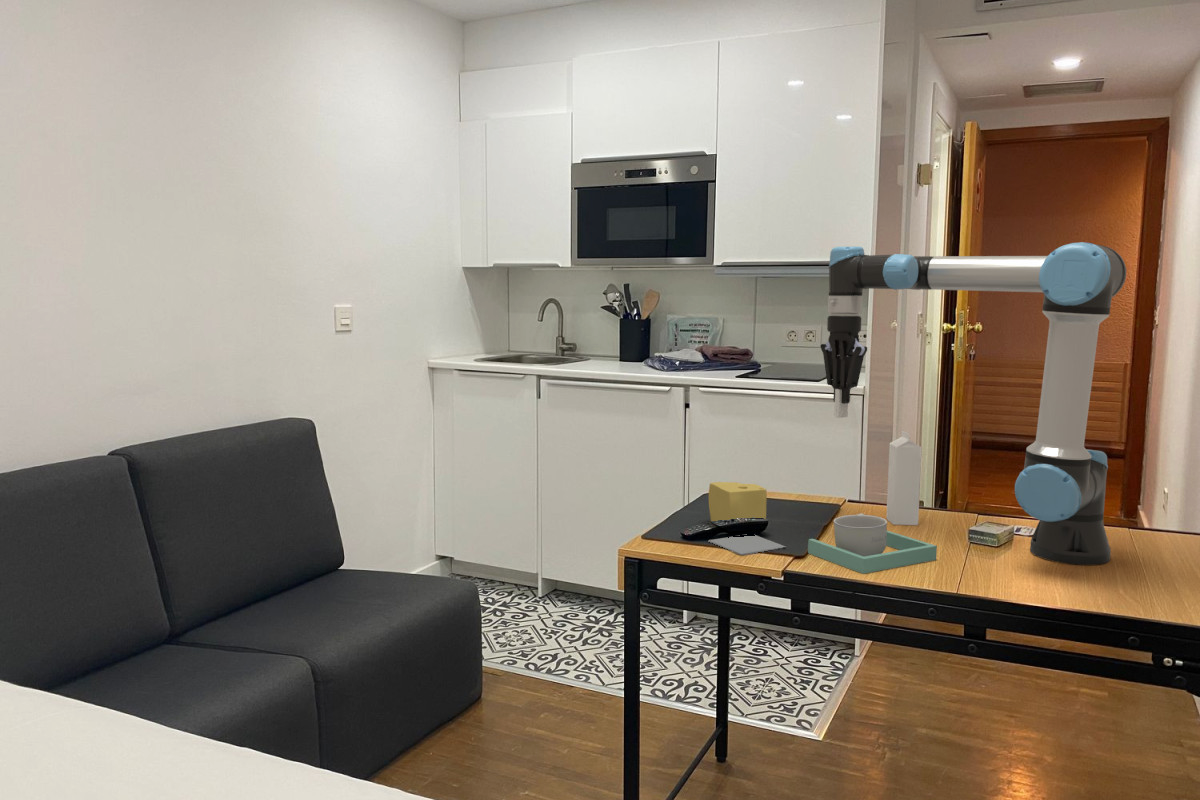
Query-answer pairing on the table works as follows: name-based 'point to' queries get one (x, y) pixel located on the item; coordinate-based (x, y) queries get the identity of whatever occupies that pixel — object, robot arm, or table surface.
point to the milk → (903, 481)
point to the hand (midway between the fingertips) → (840, 416)
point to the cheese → (736, 501)
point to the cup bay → (906, 554)
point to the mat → (746, 544)
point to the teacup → (861, 534)
